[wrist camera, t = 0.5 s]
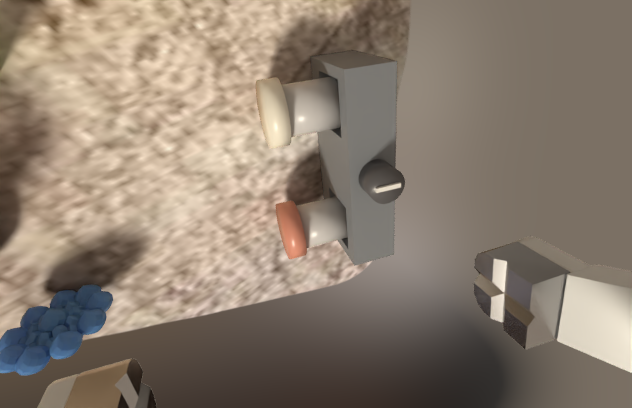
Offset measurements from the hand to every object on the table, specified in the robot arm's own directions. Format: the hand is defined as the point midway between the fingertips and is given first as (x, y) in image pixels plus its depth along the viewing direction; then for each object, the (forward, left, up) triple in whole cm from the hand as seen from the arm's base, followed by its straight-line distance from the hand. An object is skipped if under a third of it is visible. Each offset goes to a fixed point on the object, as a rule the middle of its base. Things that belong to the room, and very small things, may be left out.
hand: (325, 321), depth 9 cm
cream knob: (+4, +8, -37) cm, 38 cm away
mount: (+11, +14, -39) cm, 43 cm away
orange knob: (+19, +8, -37) cm, 42 cm away
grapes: (+25, -24, -39) cm, 52 cm away
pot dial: (+11, +15, -28) cm, 34 cm away
